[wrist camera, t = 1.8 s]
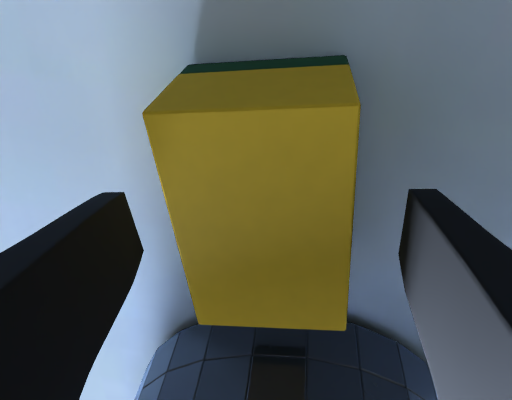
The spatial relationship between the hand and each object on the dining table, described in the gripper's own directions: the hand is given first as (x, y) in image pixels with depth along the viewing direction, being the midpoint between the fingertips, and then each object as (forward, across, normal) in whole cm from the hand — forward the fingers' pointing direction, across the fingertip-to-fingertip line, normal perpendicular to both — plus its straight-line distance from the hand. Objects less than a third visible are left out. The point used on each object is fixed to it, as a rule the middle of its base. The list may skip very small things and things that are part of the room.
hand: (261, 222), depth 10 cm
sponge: (+3, 0, 0) cm, 3 cm away
